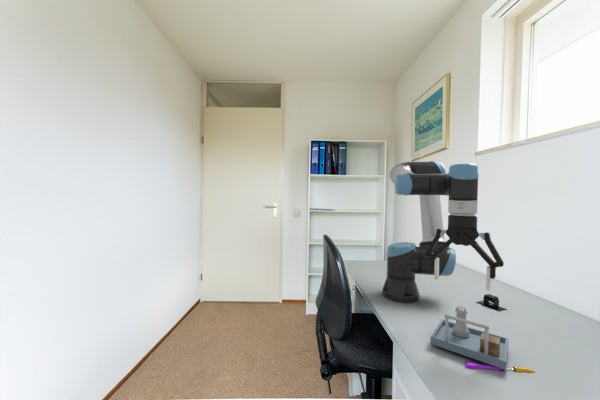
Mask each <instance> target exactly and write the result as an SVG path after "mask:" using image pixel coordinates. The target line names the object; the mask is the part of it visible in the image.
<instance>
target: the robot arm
mask: <svg viewBox="0 0 600 400" xmlns="http://www.w3.org/2000/svg"><path fill="white" fill-rule="evenodd" d="M448 168H449V169H448V173H447V172H446V168H445V165H444V164H443V163H442V162H441V161H433V160H430V161H406V162H401V163H399V164H397V165H395V166H393V168H391V170H390V172H389V177H390V180H391V182H392V183H393V184H394V191H395V194H396V195H398V196H419V206H420V207H419V208H420V220H421V235H422V236H421V237H422V240H421V241H420V242H419V243H418V244H419V245H418V246H417V244H416V243H414V242H408V241H407V242H406V241H405V242H403V241H402V242H396V243H395V242H394V243H391V244H389V245H388V246H387V251H386V278H385V281H384V284H383V286H382V296H384V298H386V299H388V300H391V301H394V302H398V303H404V304H405V303H407V304H409V303H416V302H418V301H420V290H419V287H418V285H417V282H416V275H426V276H427V275H428V276H434V277H433V279H434V280H438V279H439V278H440V277H441V276H442V277H448V276H451V275H452V274H453V273H454V272H455V268H456V265H457V264H456V263H457V255H456V250H455V249H454V248H452V247H450V246H451V244H454V245H456V246H459V245H461V246H465V247H467V246H471V247H472V248H473V249H474V250H475V251H476V252H477V254H478V255H480V257H481V258H482V260H484V261H485V262H486V264H487V266H486V283H485V284H486V285H485V287H486V289H485V290H486V291H490V290H491V284H492V283H491V279H493V280H494V279H495V278H496V276H497V275H496V270H497V268H501V267H502V268H503V266H504V264H505V263H504V261H503V259H502V257H501V255H500V253H499V252H498V250H497V248H496V247H495V245H494V243H493V241H492V238H491V234H490V232H489V231H485V232H479V231H478V217H477V214H478V203H479V202H478V198H479V196H478V194H479V193H478V190H479V189H478V188H479V166H478V164H475V163H454V164H451V165H450V166H449V167H448ZM441 196H447V197H448V208H447V209H448V210H447V212H448V213H449V215H447V229H444V222H443V214H442V213H443V212H442V203H441ZM445 234H446V235H447V237H448V239H447V240H446V239H445ZM479 237H480V238H481V240H483V241H485V242H484V243H485V245H486V246H487V248H488V249H489V252H490V253H491V255H492V257H493V258H491V257H490V255H489V254H488V253H487V252H486V251H485V250H484V248H482V247H481V246H480V245H479V243H478V241H476V240H477V239H478V238H479ZM493 259H494V260H495V261H494V260H493Z"/></svg>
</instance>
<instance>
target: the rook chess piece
mask: <svg viewBox="0 0 600 400" xmlns="http://www.w3.org/2000/svg"><path fill="white" fill-rule="evenodd" d="M454 310H455V311H454V312H456V314H455V317H457V318H461V319H464V320H467V318H468V317H467V314H468V312H469V311H467V308H465V307H464V306H463V307H462V306H456V308H455V309H454ZM454 323H455V326H453V329H454V330H453V333H454V334H455V335H456V336H459V337H462V338H468V337H469V336H470V334H469V329H468V327H469V326H467V325H468V324H467V323H464V322H460V321H456V320H455V322H454Z"/></svg>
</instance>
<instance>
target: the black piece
mask: <svg viewBox="0 0 600 400" xmlns="http://www.w3.org/2000/svg"><path fill="white" fill-rule="evenodd" d="M475 302H476V303H475V304H477V305H481V306H483V307H486V308H488V309H492V310H494V311H496V312H503V311H508V309H507V308H505V307H502V306H500V300H499V297H498V296H496V295H493V294H490V293H487V294H484V296H483V298H482V300H480V301H475Z"/></svg>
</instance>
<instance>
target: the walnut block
mask: <svg viewBox="0 0 600 400" xmlns="http://www.w3.org/2000/svg"><path fill="white" fill-rule="evenodd" d="M484 339H485V334H484V333H482V334H481V337H480V352H482V353H484ZM488 355H491V356H494V357H497V358H499V356H500V338H498V337H495V336H491V335H488Z"/></svg>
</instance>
